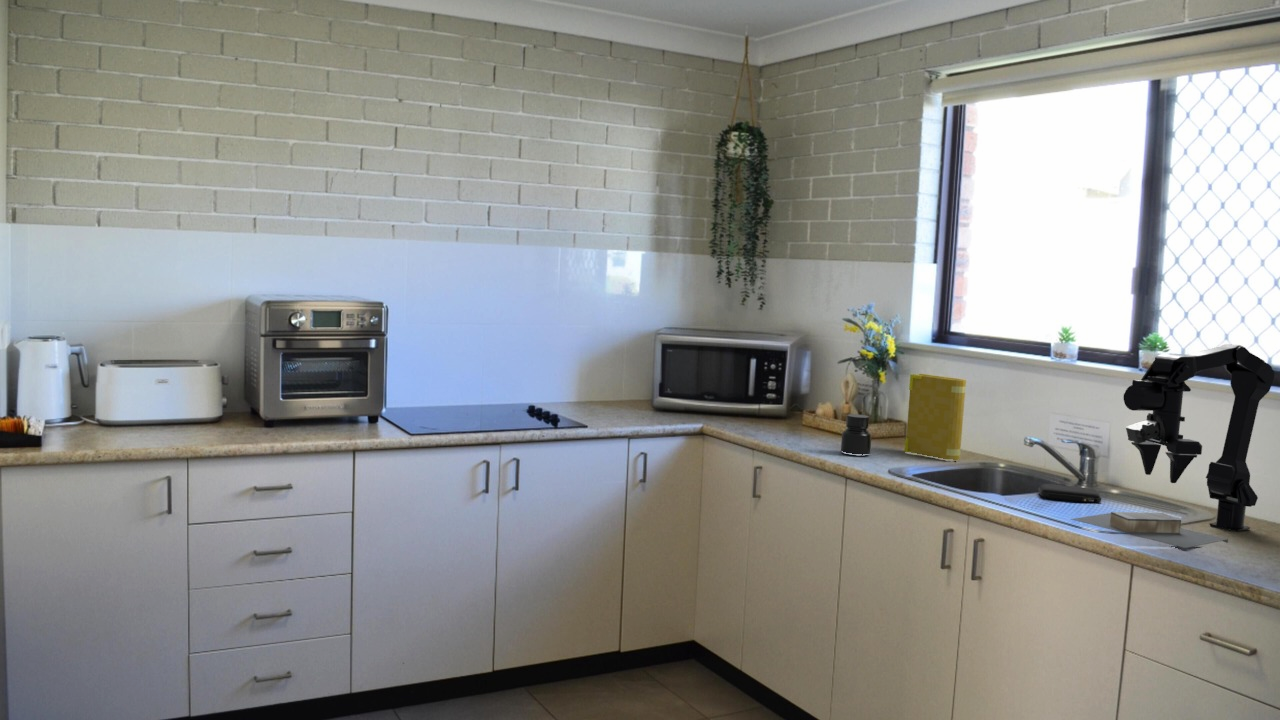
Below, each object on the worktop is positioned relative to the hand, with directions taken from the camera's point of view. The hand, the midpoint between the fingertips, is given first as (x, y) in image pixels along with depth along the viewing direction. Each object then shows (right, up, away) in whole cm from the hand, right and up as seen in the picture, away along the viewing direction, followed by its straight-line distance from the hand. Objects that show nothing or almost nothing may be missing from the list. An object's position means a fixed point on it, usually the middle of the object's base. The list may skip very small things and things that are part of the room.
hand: (1160, 478), depth 238 cm
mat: (-3, -12, +1) cm, 12 cm away
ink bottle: (-52, -2, +85) cm, 99 cm away
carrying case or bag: (-7, -10, +33) cm, 36 cm away
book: (-27, -3, +87) cm, 91 cm away
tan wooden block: (+3, -10, +1) cm, 11 cm away
